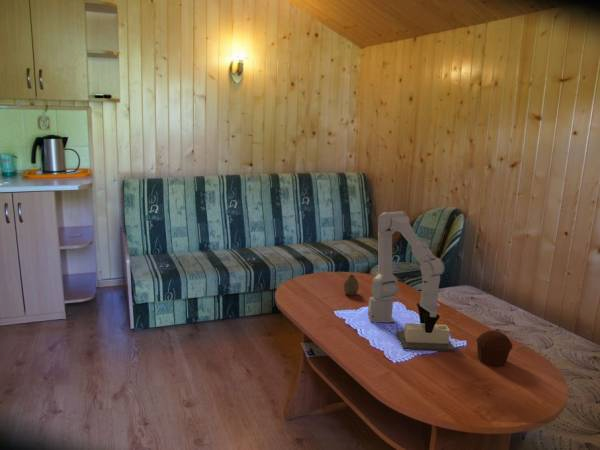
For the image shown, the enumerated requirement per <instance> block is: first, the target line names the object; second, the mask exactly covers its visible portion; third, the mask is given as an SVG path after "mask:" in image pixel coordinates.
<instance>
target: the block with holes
mask: <svg viewBox="0 0 600 450" xmlns="http://www.w3.org/2000/svg"><path fill="white" fill-rule="evenodd" d="M450 335H451V330H450V328H449V327H448V326H447V324H438V323H437V324H436V323H435V326H434V328H433V331H432V333H426V332H425V324H421V323H411V322H410V323H408V322H407V323H406V322H405V323H404V337H405V339H406V342H417V343H444V344H449V341H450Z"/></svg>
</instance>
